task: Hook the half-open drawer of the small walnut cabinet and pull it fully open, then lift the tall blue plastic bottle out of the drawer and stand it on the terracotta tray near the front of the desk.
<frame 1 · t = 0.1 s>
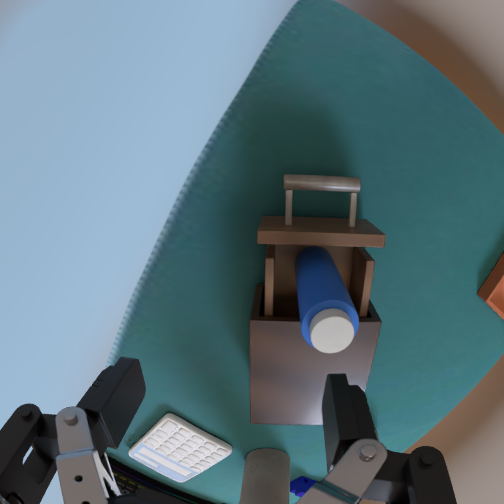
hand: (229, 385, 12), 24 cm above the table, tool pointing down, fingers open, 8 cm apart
calculator: (176, 448, 49), on the table
cable holder: (310, 483, 50), on the table
keyboard: (168, 497, 57), on the table
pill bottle: (314, 264, 33), point 2 cm above the table, touching drawer
cabinet: (306, 337, 38), on the table
drawer: (316, 267, 31), point 4 cm above the table, slide at 7.0 cm, touching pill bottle
thermos bottle: (267, 458, 47), on the table
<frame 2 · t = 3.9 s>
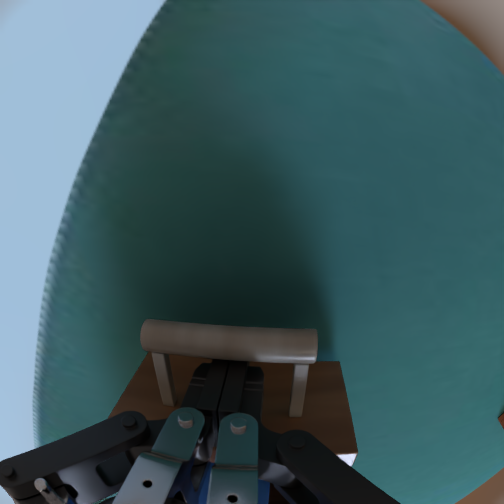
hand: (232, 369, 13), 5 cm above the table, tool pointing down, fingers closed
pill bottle: (241, 426, 18), point 2 cm above the table, touching drawer
drawer: (236, 447, 16), point 4 cm above the table, slide at 7.4 cm, touching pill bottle
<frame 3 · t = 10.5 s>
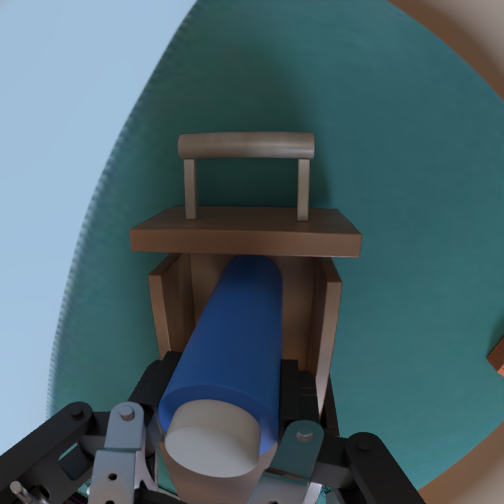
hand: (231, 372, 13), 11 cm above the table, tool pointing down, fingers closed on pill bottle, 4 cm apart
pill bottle: (251, 282, 21), point 2 cm above the table, touching drawer, gripper
cabinet: (253, 414, 28), on the table
lighter: (332, 492, 33), on the table
drawer: (248, 287, 19), point 4 cm above the table, slide at 11.8 cm, touching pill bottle
when the fingers open (10 cm above the table, at t = 18.7 s): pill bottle stays where it is, resting on tray.
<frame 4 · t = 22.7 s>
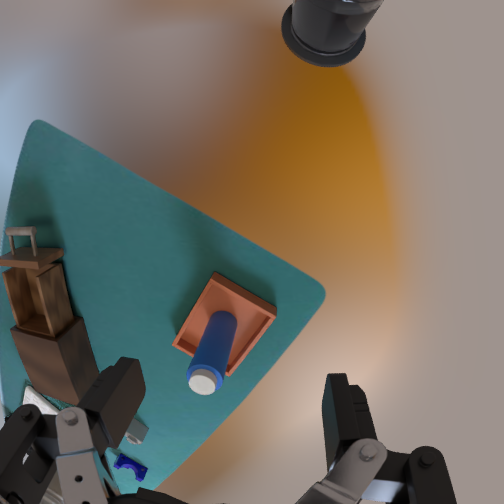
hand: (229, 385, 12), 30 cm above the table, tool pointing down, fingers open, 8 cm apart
calculator: (43, 414, 62), on the table
cable holder: (132, 462, 62), on the table
tray: (223, 323, 46), on the table
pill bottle: (223, 322, 45), point 1 cm above the table, touching tray
cabinet: (67, 345, 51), on the table
lighter: (134, 419, 56), on the table
drawer: (33, 278, 42), point 4 cm above the table, slide at 11.8 cm
thermos bottle: (91, 431, 60), on the table
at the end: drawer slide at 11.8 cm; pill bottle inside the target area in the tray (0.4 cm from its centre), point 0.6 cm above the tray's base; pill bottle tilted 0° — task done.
